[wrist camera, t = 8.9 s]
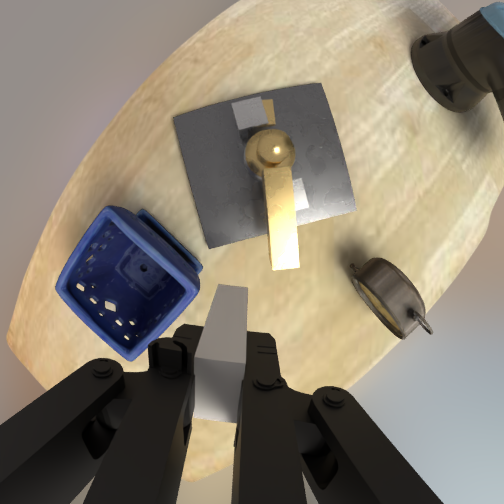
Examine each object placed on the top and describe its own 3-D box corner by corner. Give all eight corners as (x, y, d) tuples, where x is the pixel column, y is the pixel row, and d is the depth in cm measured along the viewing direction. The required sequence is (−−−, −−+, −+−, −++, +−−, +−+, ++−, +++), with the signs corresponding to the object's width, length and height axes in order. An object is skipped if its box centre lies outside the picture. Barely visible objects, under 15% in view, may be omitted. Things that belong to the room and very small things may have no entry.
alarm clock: (337, 266, 37) (391, 313, 21) (366, 241, 37) (433, 273, 21) (373, 316, 39) (426, 374, 23) (399, 294, 38) (460, 342, 23)
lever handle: (240, 104, 28) (237, 82, 21) (285, 101, 28) (295, 79, 21) (255, 255, 31) (257, 271, 25) (300, 250, 31) (314, 265, 25)
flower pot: (145, 196, 35) (103, 199, 23) (216, 262, 37) (202, 293, 25) (96, 264, 37) (50, 289, 25) (159, 323, 39) (131, 367, 27)
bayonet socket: (318, 86, 32) (332, 66, 25) (352, 209, 36) (375, 214, 29) (176, 120, 33) (160, 104, 26) (210, 247, 36) (201, 259, 29)
